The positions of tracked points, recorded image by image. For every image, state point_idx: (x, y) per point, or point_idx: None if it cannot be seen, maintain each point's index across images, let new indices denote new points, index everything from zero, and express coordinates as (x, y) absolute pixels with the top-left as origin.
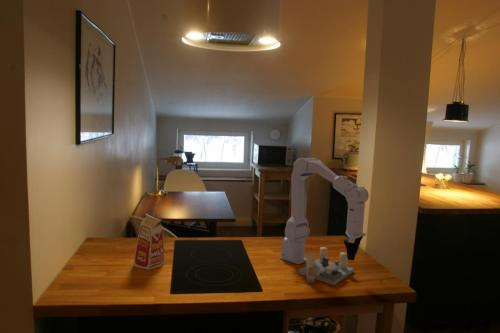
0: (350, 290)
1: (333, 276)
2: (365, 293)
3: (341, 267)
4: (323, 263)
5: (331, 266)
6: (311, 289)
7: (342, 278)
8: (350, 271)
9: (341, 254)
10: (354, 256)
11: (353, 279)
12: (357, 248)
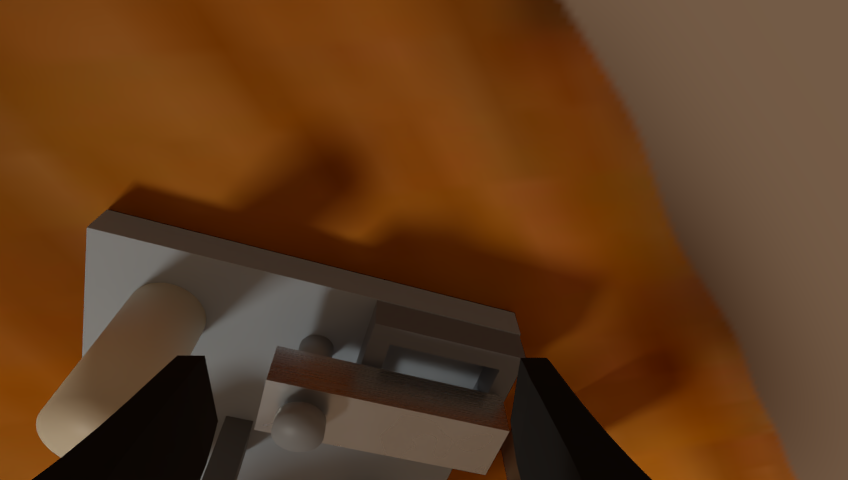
0: (567, 186)
1: (512, 368)
2: (587, 49)
3: (200, 335)
4: (239, 468)
5: (414, 439)
6: (643, 419)
7: (359, 278)
8: (173, 242)
9: None
10: (579, 404)
11: (298, 188)
12: (159, 424)
